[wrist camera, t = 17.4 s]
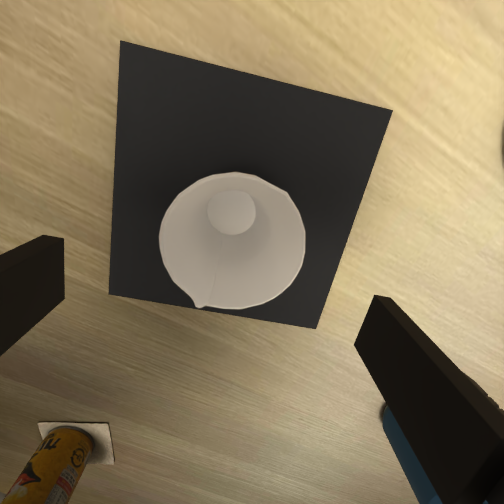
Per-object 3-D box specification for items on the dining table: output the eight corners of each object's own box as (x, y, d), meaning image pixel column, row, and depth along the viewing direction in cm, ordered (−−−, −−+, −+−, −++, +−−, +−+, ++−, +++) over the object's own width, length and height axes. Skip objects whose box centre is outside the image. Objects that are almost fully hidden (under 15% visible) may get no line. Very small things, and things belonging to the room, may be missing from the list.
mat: (109, 292, 29) (108, 294, 29) (121, 41, 22) (120, 40, 22) (315, 327, 32) (315, 329, 31) (391, 110, 24) (393, 110, 24)
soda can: (391, 438, 38) (452, 560, 27) (368, 406, 36) (424, 526, 25) (440, 415, 37) (525, 534, 26) (420, 382, 35) (503, 496, 24)
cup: (168, 227, 27) (128, 273, 17) (222, 138, 24) (209, 137, 15) (247, 275, 29) (249, 339, 19) (304, 198, 26) (339, 230, 17)
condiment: (38, 421, 35) (-56, 550, 24) (108, 422, 36) (47, 549, 25) (49, 461, 38) (-31, 594, 27) (115, 461, 38) (63, 593, 27)
